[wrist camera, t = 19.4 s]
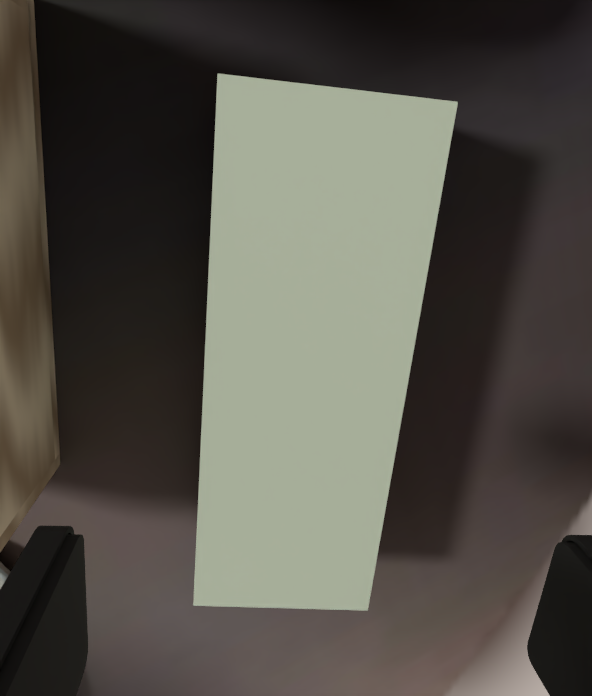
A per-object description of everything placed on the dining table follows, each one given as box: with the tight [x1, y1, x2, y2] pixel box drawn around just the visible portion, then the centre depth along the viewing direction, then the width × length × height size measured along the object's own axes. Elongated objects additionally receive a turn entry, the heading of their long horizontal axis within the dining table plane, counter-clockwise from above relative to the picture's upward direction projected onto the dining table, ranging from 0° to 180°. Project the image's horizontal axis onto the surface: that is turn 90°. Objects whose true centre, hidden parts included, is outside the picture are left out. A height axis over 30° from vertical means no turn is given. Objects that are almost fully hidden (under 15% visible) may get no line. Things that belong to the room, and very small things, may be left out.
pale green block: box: [193, 74, 458, 610], centre depth 21 cm, size 20×7×5 cm, turn 174°
